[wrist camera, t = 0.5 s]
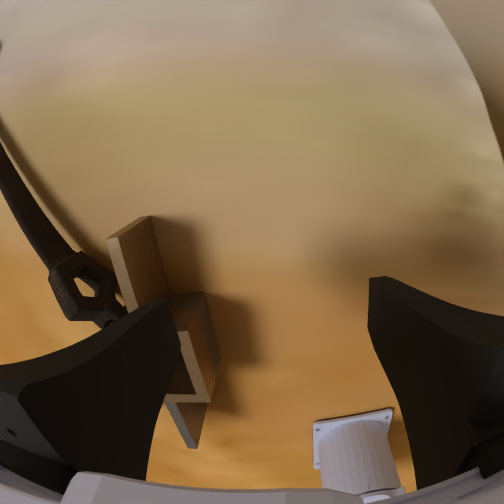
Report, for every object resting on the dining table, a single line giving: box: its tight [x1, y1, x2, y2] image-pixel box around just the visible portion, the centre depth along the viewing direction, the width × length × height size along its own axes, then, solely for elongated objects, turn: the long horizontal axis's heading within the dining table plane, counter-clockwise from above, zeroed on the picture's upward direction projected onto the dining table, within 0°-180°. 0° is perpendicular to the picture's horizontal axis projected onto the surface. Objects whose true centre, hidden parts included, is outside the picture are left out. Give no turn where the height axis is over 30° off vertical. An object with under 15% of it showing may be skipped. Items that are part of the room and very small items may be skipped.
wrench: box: [0, 142, 127, 329], centre depth 17 cm, size 5×5×30 cm
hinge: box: [106, 216, 220, 449], centre depth 21 cm, size 18×6×5 cm, turn 9°
